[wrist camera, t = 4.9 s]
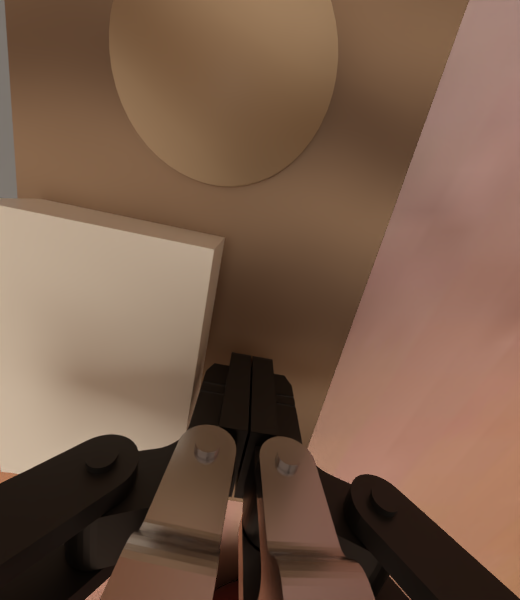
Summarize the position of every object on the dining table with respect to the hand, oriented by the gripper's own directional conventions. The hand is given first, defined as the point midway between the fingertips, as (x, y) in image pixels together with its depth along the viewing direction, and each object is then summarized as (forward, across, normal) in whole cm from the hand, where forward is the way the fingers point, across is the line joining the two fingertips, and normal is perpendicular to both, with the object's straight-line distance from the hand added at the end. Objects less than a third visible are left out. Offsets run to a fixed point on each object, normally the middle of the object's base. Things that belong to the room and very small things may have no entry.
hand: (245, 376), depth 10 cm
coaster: (+1, +2, -9) cm, 10 cm away
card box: (+1, +5, 0) cm, 5 cm away
